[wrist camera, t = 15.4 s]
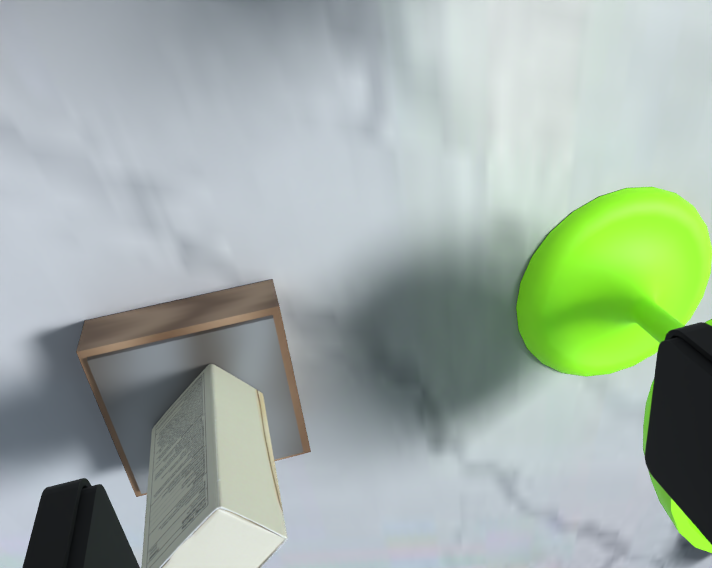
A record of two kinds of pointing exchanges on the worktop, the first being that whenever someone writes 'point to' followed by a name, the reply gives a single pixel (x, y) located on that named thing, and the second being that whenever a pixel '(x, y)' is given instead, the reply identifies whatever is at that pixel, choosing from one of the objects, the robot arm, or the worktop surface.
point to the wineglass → (617, 292)
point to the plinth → (189, 366)
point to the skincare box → (213, 480)
